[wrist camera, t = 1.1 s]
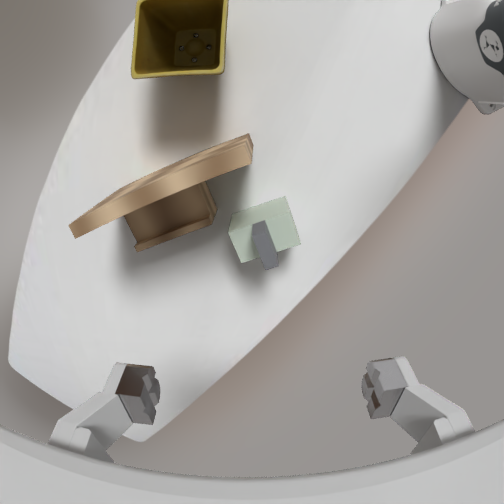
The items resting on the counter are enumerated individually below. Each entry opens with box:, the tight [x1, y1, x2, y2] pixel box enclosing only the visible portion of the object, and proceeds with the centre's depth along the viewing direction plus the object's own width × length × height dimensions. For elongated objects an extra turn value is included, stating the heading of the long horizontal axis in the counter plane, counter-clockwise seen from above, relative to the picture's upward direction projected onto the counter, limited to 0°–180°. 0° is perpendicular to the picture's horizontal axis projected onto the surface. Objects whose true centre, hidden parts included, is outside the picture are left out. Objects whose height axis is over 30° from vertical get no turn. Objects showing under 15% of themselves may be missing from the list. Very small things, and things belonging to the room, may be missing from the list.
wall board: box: [69, 134, 253, 252], centre depth 31 cm, size 18×8×13 cm, turn 110°
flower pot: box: [131, 0, 228, 79], centre depth 25 cm, size 9×9×9 cm
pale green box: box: [228, 196, 301, 270], centre depth 35 cm, size 7×4×9 cm, turn 110°
